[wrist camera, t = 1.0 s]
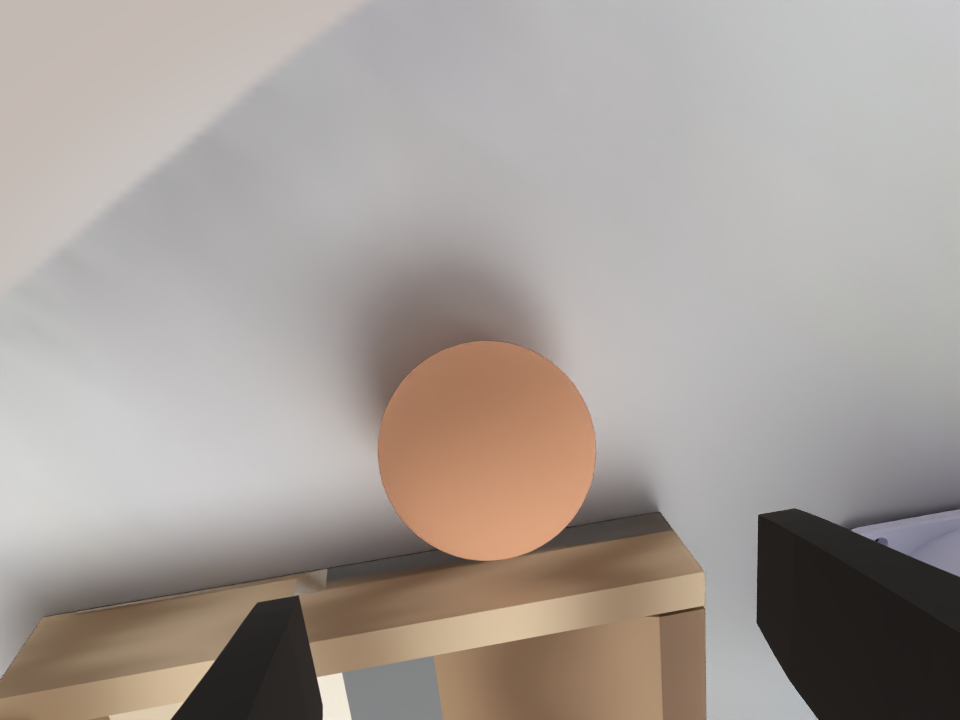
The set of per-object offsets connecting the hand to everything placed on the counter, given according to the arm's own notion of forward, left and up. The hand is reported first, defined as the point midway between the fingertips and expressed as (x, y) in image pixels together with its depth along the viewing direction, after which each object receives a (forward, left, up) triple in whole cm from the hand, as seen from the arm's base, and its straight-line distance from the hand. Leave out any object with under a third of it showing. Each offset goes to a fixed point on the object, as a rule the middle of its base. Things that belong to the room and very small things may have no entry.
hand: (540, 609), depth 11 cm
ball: (0, 0, -6) cm, 6 cm away
